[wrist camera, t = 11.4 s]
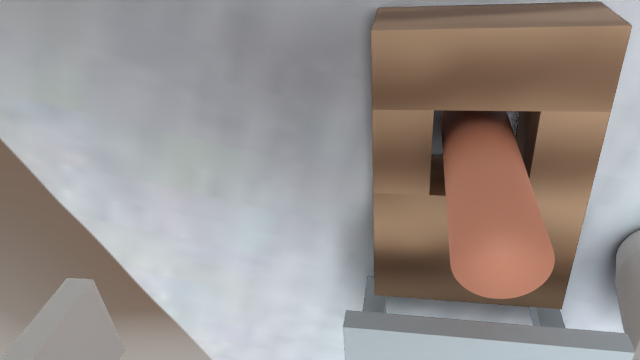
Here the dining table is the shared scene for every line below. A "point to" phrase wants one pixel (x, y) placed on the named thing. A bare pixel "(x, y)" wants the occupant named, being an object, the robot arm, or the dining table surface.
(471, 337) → the grey-blue stool
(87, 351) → the robot arm
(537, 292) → the socket block
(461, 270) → the dowel
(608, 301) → the dining table surface
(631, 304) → the cup
